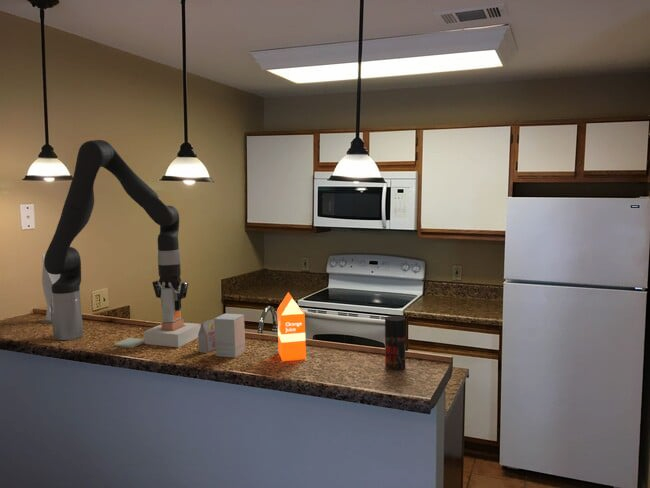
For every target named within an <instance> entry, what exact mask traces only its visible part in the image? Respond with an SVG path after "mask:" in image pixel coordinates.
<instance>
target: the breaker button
mask: <svg viewBox="0 0 650 488" xmlns="http://www.w3.org/2000/svg"><path fill="white" fill-rule="evenodd" d="M184 323H185V322H184V318H181V319H178V320H176V321H175V322H163V321H162V322H161V324H160V325H162V330H165V331H175V330H177V329H179V328H182V327H184Z"/></svg>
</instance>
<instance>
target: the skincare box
mask: <svg viewBox="0 0 650 488" xmlns="http://www.w3.org/2000/svg"><path fill="white" fill-rule="evenodd" d="M179 288H180V289H181V287H180V286H179ZM175 291H177V290H175ZM161 295H162V303H161V314H162V315H161V317H162V322H175V321H176V320H178V319H182V314H181V312H182V311H181V309H180V310H179V311H175V301H176V300H175V298H174V294H173V289H170V288H163V289H162V288H161Z"/></svg>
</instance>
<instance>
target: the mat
mask: <svg viewBox="0 0 650 488" xmlns="http://www.w3.org/2000/svg"><path fill="white" fill-rule="evenodd" d="M142 344H145V340H144V338H136V337H128V338H126V339H123V340H121V341H117V342H116V343H113V346H114V347H122V348H136V347H137V346H140V345H142Z"/></svg>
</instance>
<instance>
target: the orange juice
mask: <svg viewBox="0 0 650 488" xmlns="http://www.w3.org/2000/svg"><path fill="white" fill-rule="evenodd" d="M276 311H277V315H276V316H277V339H278V343H277V345H278V355H279V357H280V359H281V361H282V362H286V361H287V362H289V361H298V360H299V361H301V360H307V356H306V355H307V354H306V353H307V348H306V347H307V346H306V345H307V344H306V343H307V342H306V317H305V316H306V314H305V312H304V311H303V310H302V308H301V307H299V305H298V303H297V302H296V301H295V300H294V299H293V296H292V295H291V294H290V292H289V291H288V292H287V294H286V295H285V296H284V298H283V300H282V301H281V303H280V304H279V306H278V308H277V309H276Z"/></svg>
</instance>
